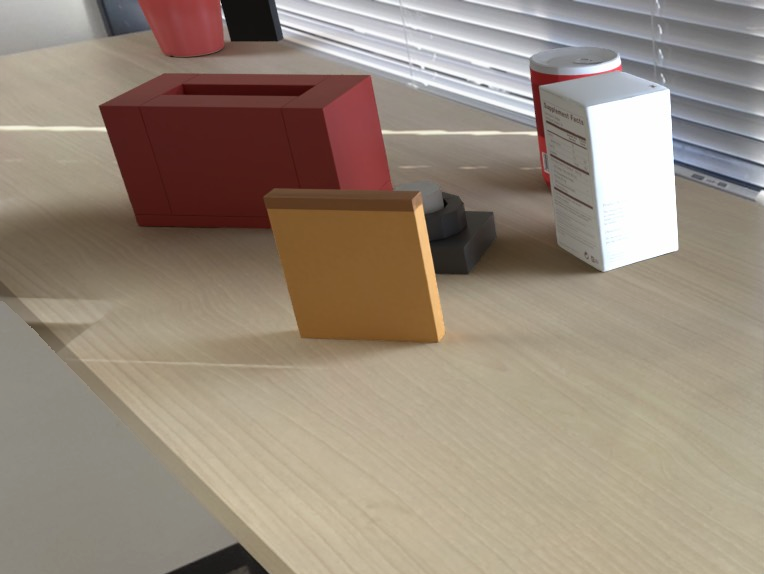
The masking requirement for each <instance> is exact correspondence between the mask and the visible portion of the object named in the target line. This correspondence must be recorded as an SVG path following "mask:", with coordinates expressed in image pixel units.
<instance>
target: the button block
mask: <svg viewBox="0 0 764 574" xmlns="http://www.w3.org/2000/svg"><path fill="white" fill-rule="evenodd" d="M441 192H442V198H443V203H444V209H441V210H439V211H436V212H433V213H428V214H424V216H425V221H426V227H427V232H428V238H429V243H430V249H431V254H432V260H433V265H434V271H435V275H456V276H460V275H461V276H469V275H470V273H471V272H472V271H473V270H474V269H475V267H476V266H477V264H478V263H479V261H480V260H481V259H482V258H483V256H484V255H485V254H486V253H487V251H488V250H489V248H490V247H491V246H492V244H493V243H494V242H495V240H496V239H498V235H497V228H496V220H495V214H494V211H481V210H479V211H477V210H466V209H465V203H464V201H463V199H462V198H461V197H460V196H459V195H456V194H452V193H448V192H446V191H441Z"/></svg>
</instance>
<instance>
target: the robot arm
mask: <svg viewBox="0 0 764 574" xmlns="http://www.w3.org/2000/svg"><path fill="white" fill-rule="evenodd" d="M220 4H221V10H222V12H223V17H224V20H225V25H226V28H227V32H228V36H229V39H230V42H233V43H238V42H241V43H244V42H246V43H247V42H248V43H250V42H251V43H252V42H255V43H257V42H261V43H262V42H263V43H265V42H267V43H269V42H271V43H274V42H276V43H277V42H280V41H282V40H283V39H284V38H285V37H284V34H283V30H282V25H281V21H280V17H279V13H278V8H277V4H276V0H220Z"/></svg>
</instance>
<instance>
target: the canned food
mask: <svg viewBox="0 0 764 574" xmlns="http://www.w3.org/2000/svg"><path fill="white" fill-rule="evenodd" d="M528 66H529V75H530V85H531V92H532V102H533V109H534V117H535V125H536V127H535V128H536V134H537V141H538V142H537V143H538V150H539V159H540V166H541V174H542V178H543V180H544V183H545V185H546V187H547V188H548V189H549V190H551V184H550V175H549V167H548V157H547V150H546V141H545V133H544V125H543V117H542V108H541V100H540V92H539V86H541V85H547V84H552V83H557V82H562V81H567V80H572V79H578V78H583V77H588V76H593V75H597V74H602V73H607V72H612V71H616V70H619V71H623V68H622V60H621V55H620V53H619V52H618V51H616V50H612V49H611V48H605V47H597V46H564V47H557V48H556V47H555V48H550V49H545V50H542V51H539V52H536V53H534V54H532V55H531V56H530V57H529V65H528Z"/></svg>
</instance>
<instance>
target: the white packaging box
mask: <svg viewBox="0 0 764 574" xmlns="http://www.w3.org/2000/svg"><path fill="white" fill-rule="evenodd" d="M539 92H540V100H541V108H542V117H543V125H544V133H545V141H546V150H547V157H548V167H549V175H550V184H551V189H550V191H551V199H552V210H553V217H554V225H555V235H556V242H557V245H558V246H559V247H560V248H561V249H562V250H564V251H566V252H567V253H569V254H570V255H572V256H574V257H576V258H578V259H579V260H581V261H582V262H584V263H586V264H588V265H589V266H591V267H593V268H595V269H596V270H598V271H600V272H602V273H606V272H608V271H612V270H615V269H618V268H622V267H625V266H628V265H631V264H635V263H638V262H639V263H640V262H642V261H646V260H650V259H652V258H656V257H659V256H662V255H665V254H666V255H667V254H670V253H673V252H677V251H679V237H678V221H677V220H678V219H677V204H676V203H677V202H676V185H675V183H676V182H675V167H674V166H675V165H674V164H675V163H674V150H673V131H672V129H673V128H672V116H671V115H672V114H671V93H670V89H669V88H667V87H666V86H664V85H662V84H659V83H656V82H655V81H651V80H648V79H645V78H643V77H639V76H637V75H634V74H631V73H628V72H625V71H623V70H622V71H619V70H616V71H612V72H607V73H602V74H597V75H593V76H588V77H583V78H578V79H572V80H567V81H562V82H557V83H552V84H547V85H541V86H539Z"/></svg>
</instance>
